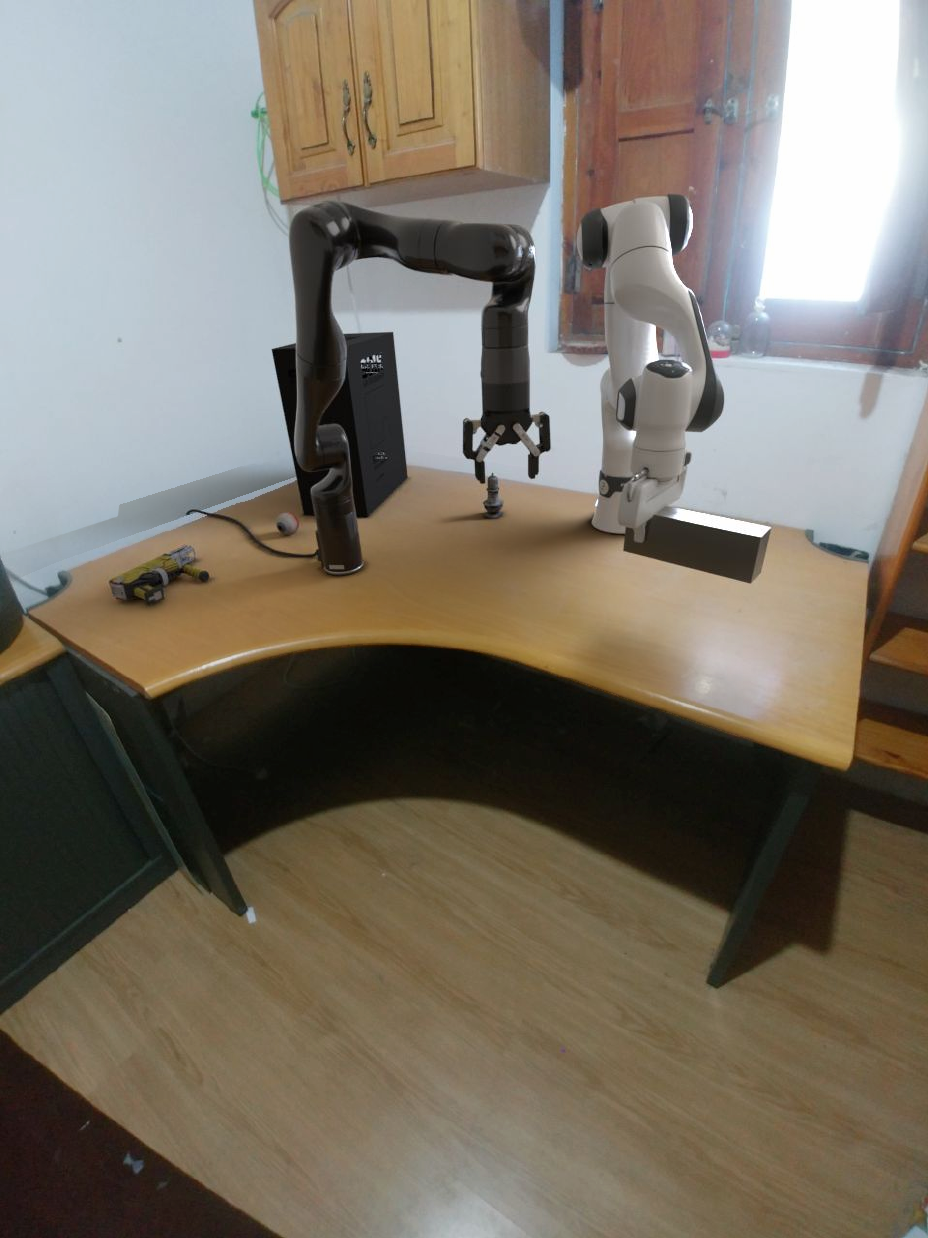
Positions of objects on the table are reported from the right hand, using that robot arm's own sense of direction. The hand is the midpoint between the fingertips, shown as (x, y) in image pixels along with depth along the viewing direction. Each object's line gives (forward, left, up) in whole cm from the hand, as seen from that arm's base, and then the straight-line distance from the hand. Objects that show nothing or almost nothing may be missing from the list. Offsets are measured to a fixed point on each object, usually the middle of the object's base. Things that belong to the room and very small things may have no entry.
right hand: (647, 535), depth 113 cm
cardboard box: (+29, -102, -16) cm, 107 cm away
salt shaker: (+1, -63, -16) cm, 64 cm away
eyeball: (+55, -79, -16) cm, 98 cm away
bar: (-3, +8, -3) cm, 9 cm away
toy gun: (+85, -63, -16) cm, 106 cm away
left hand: (+26, -6, +14) cm, 30 cm away
